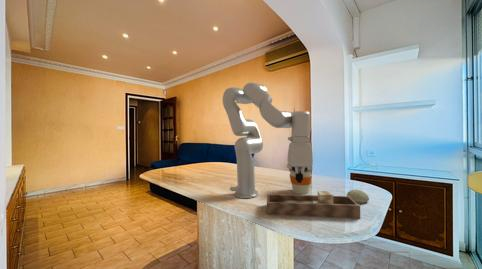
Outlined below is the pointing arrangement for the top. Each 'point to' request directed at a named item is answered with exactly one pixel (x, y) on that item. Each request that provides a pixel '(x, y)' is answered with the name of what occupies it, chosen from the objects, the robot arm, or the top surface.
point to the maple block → (325, 197)
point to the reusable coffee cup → (304, 185)
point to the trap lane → (312, 206)
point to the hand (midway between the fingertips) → (299, 181)
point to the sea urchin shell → (358, 196)
